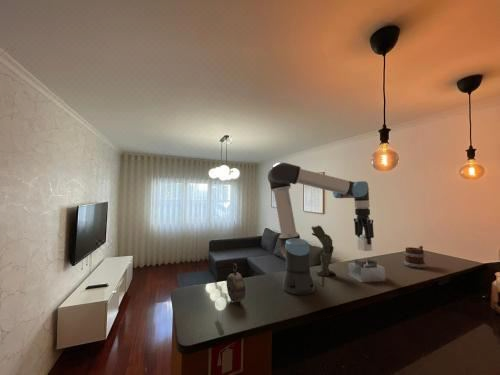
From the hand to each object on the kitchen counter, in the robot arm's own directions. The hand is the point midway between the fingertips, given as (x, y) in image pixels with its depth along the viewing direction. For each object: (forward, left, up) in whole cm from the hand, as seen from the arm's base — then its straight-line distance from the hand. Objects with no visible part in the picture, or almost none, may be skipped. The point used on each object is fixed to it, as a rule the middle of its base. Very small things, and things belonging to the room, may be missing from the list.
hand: (364, 249), depth 117 cm
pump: (0, 0, 0) cm, 0 cm away
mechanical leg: (-20, +10, -16) cm, 27 cm away
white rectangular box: (0, 0, -16) cm, 16 cm away
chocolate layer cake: (+47, +14, -16) cm, 52 cm away
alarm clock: (-75, -18, -16) cm, 79 cm away
